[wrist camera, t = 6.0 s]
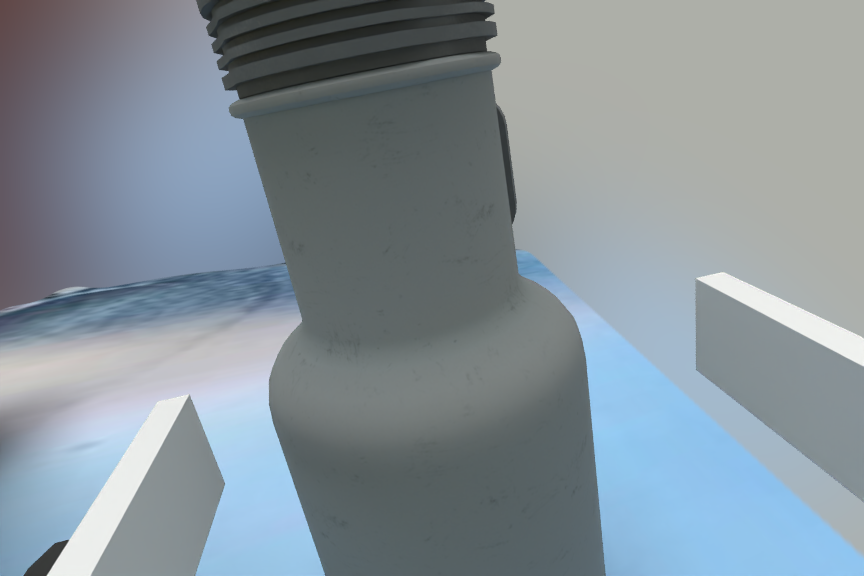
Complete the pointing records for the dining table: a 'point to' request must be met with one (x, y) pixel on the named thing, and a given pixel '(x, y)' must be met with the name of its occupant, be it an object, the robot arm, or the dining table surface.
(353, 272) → the water bottle
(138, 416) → the dining table surface
